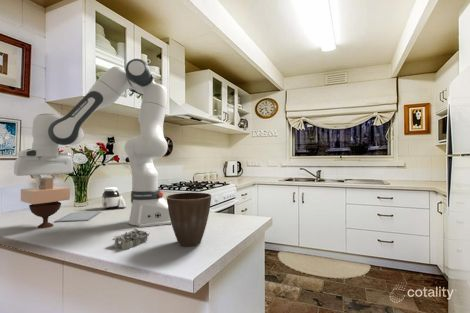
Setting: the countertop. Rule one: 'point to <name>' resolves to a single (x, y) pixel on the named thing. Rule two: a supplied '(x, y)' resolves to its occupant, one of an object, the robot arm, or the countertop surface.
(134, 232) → the egg carton
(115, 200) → the spread jar
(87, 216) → the mat
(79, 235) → the countertop surface
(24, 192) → the cover
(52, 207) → the ice cream bowl
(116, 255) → the countertop surface
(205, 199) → the plant pot
